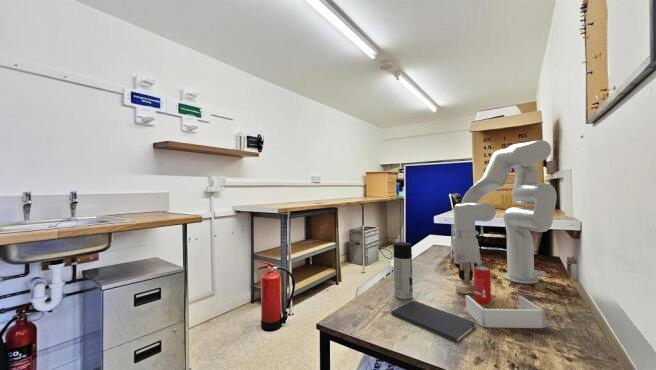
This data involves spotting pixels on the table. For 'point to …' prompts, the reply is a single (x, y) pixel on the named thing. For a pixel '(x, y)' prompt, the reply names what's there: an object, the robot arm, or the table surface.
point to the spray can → (403, 270)
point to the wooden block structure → (465, 281)
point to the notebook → (435, 320)
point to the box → (508, 315)
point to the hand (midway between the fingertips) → (465, 279)
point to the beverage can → (482, 285)
